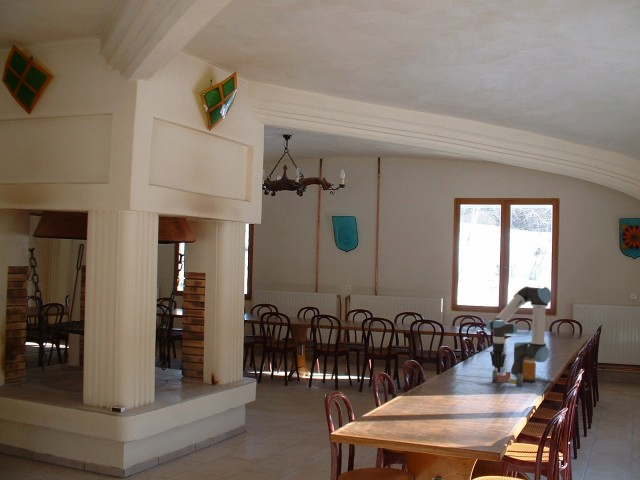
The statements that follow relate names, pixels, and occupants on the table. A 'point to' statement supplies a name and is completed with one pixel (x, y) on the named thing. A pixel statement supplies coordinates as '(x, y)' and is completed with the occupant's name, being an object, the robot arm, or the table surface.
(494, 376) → the post
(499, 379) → the pink l-shaped bracket
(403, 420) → the table surface
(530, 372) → the canister
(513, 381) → the grey hammer
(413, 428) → the table surface
